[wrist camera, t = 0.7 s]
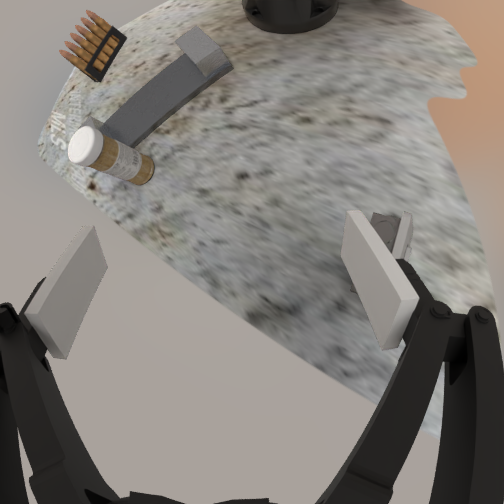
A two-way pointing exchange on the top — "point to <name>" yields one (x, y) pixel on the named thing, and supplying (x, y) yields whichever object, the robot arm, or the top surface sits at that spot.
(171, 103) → the rail
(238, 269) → the top surface
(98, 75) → the ammunition clip
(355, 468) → the robot arm
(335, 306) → the top surface
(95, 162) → the sprinkles bottle
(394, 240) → the electrical switch
